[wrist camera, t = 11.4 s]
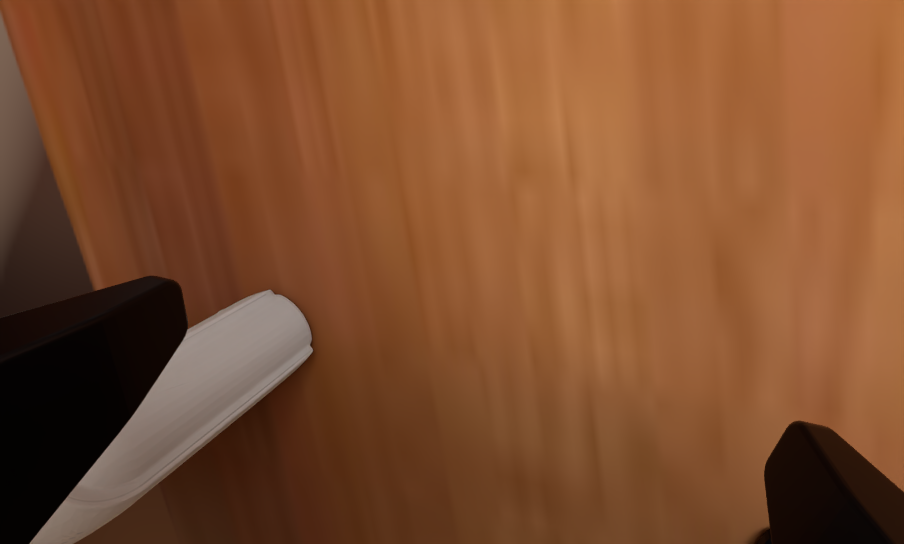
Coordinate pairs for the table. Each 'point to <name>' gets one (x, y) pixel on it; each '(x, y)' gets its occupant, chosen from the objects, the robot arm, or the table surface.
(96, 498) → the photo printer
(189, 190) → the table surface
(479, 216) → the table surface
